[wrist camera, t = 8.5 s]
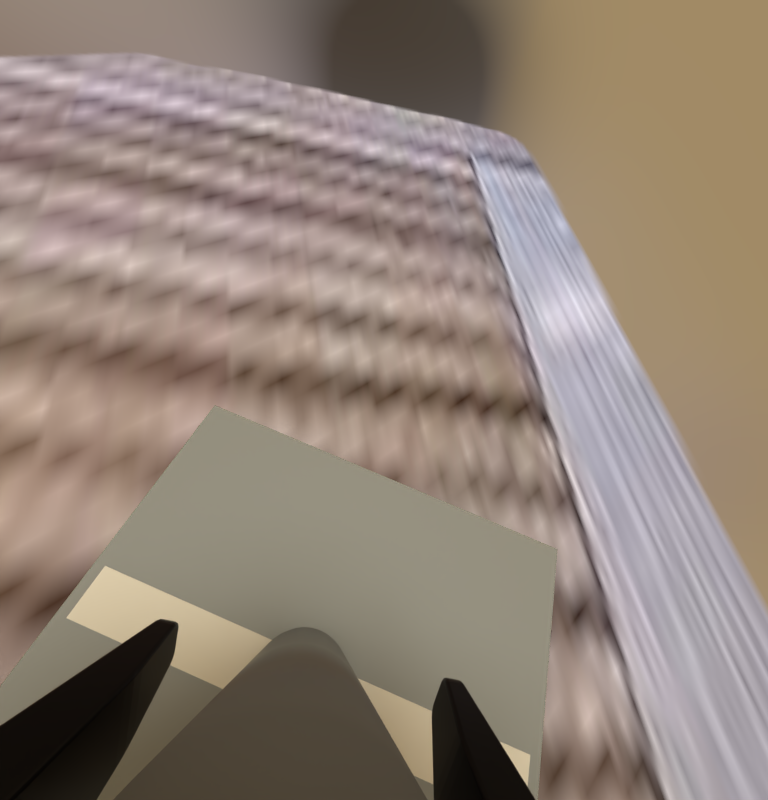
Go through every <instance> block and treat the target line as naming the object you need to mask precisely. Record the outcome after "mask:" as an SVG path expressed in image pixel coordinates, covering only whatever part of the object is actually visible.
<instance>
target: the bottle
mask: <svg viewBox="0 0 768 800" xmlns="http://www.w3.org/2000/svg"><path fill="white" fill-rule="evenodd" d="M113 800H427V798H426V796H425V794H424V793H423V791H422V789H421V788H420V786H419V784H418V782H417V781H416V779H415V777H414V775H413V774H412V772H411V770H410V768H409V767H408V765H407V763H406V761H405V760H404V758H403V756H402V754H401V753H400V751H399V749H398V747H397V746H396V744H395V742H394V741H393V739H392V737H391V735H390V734H389V732H388V730H387V728H386V727H385V725H384V723H383V721H382V720H381V718H380V716H379V714H378V713H377V711H376V709H375V707H374V706H373V704H372V702H371V700H370V699H369V697H368V695H367V694H366V692H365V690H364V688H363V687H362V685H361V683H360V681H359V680H358V678H357V676H356V674H355V673H354V671H353V669H352V667H351V666H350V664H349V662H348V660H347V659H346V657H345V655H344V654H343V652H342V650H341V648H340V647H339V645H338V644H337V643H336V642H335V640H333V639H332V638H331V637H330V636H329V635H327V634H326V633H324V632H322V631H320V630H318V629H314V628H308V627H300V628H294V629H291V630H288V631H286V632H284V633H282V634H280V635H278V636H277V637H275V638H274V639H273V640H272V641H270V642H269V643H268V644H267V645H266V646H265V647H264V648H263V649H262V650H261V651H260V652H259V653H258V654H257V655H256V656H255V657H254V658H253V659H252V660H251V661H250V662H249V663H248V664H247V665H246V666H245V667H244V668H243V669H242V670H241V671H240V672H239V673H238V674H237V675H236V676H235V677H234V678H233V679H232V680H231V681H230V682H229V683H228V684H227V685H226V686H225V687H224V688H223V689H222V690H221V691H220V692H219V693H218V694H217V695H216V696H215V697H214V698H213V699H212V700H211V701H210V702H209V703H208V704H207V705H206V706H205V707H204V708H203V709H202V710H201V711H200V712H199V713H198V714H197V715H196V716H195V717H194V718H193V719H192V720H191V721H190V722H189V723H188V724H187V725H186V726H185V727H184V728H183V729H182V730H181V731H180V732H179V733H178V734H177V735H176V736H175V737H174V738H173V739H172V740H171V741H170V742H169V743H168V744H167V745H166V746H165V747H164V748H163V749H162V750H161V751H160V752H159V753H158V754H157V755H156V756H155V757H154V758H153V759H152V760H151V761H150V762H149V763H148V764H147V765H146V766H145V767H144V768H143V769H142V770H141V771H140V772H139V773H138V774H137V775H136V776H135V777H134V778H133V779H132V780H131V782H130V783H129V784H128V785H127V786H126V787H125V788H124V789H123V790H122V791H121V792H120V793H119V794H118V795H117V796H116V797H115V798H114V799H113Z"/></svg>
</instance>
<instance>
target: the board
mask: <svg viewBox="0 0 768 800" xmlns="http://www.w3.org/2000/svg"><path fill="white" fill-rule="evenodd" d="M556 561H557V549H555V548H553V547H551V546H548V545H546V544H544V543H541V542H539V541H536V540H534V539H532V538H529V537H527V536H525V535H522V534H520V533H517V532H515V531H513V530H510V529H508V528H505V527H503V526H501V525H498V524H496V523H494V522H491V521H489V520H486V519H484V518H482V517H479V516H477V515H475V514H472V513H470V512H467V511H465V510H463V509H460V508H458V507H456V506H453V505H451V504H448V503H446V502H444V501H441V500H439V499H436V498H434V497H432V496H429V495H427V494H425V493H422V492H420V491H417V490H415V489H413V488H410V487H408V486H406V485H403V484H401V483H398V482H396V481H394V480H391V479H389V478H387V477H384V476H382V475H379V474H377V473H375V472H372V471H370V470H367V469H365V468H363V467H360V466H358V465H356V464H353V463H351V462H348V461H346V460H344V459H341V458H339V457H337V456H334V455H332V454H329V453H327V452H325V451H322V450H320V449H318V448H315V447H313V446H310V445H308V444H306V443H303V442H301V441H298V440H296V439H294V438H291V437H289V436H287V435H284V434H282V433H279V432H277V431H275V430H272V429H270V428H268V427H265V426H263V425H260V424H258V423H256V422H253V421H251V420H249V419H246V418H244V417H241V416H239V415H237V414H234V413H232V412H229V411H227V410H225V409H222V408H220V407H218V406H214V407H213V408H212V410H211V411H210V412H209V414H208V415H207V416H206V418H205V419H204V420H203V422H202V423H201V424H200V425H199V427H198V428H197V429H196V431H195V432H194V433H193V435H192V436H191V437H190V439H189V440H188V441H187V442H186V444H185V445H184V446H183V448H182V449H181V450H180V452H179V453H178V454H177V456H176V457H175V458H174V459H173V461H172V462H171V463H170V465H169V466H168V467H167V469H166V470H165V471H164V473H163V474H162V475H161V476H160V478H159V479H158V480H157V482H156V483H155V484H154V486H153V487H152V488H151V490H150V491H149V492H148V493H147V495H146V496H145V497H144V499H143V500H142V501H141V503H140V504H139V505H138V507H137V508H136V509H135V511H134V512H133V513H132V514H131V516H130V517H129V518H128V520H127V521H126V522H125V524H124V525H123V526H122V528H121V529H120V530H119V531H118V533H117V534H116V535H115V537H114V538H113V539H112V541H111V542H110V543H109V545H108V546H107V547H106V548H105V550H104V551H103V552H102V554H101V555H100V556H99V558H98V559H97V560H96V562H95V563H94V564H93V565H92V567H91V568H90V569H89V571H88V572H87V573H86V575H85V576H84V577H83V579H82V580H81V581H80V582H79V584H78V585H77V586H76V588H75V589H74V590H73V592H72V593H71V594H70V596H69V597H68V598H67V600H66V601H65V602H64V603H63V605H62V606H61V607H60V609H59V610H58V611H57V613H56V614H55V615H54V617H53V618H52V619H51V620H50V622H49V623H48V624H47V626H46V627H45V628H44V630H43V631H42V632H41V634H40V635H39V636H38V637H37V639H36V640H35V641H34V643H33V644H32V645H31V647H30V648H29V649H28V651H27V652H26V653H25V654H24V656H23V657H22V658H21V660H20V661H19V662H18V664H17V665H16V666H15V668H14V669H13V670H12V671H11V673H10V674H9V675H8V677H7V678H6V679H5V681H4V682H3V683H2V685H1V686H0V725H2V724H3V723H5V722H6V721H8V720H9V719H11V718H12V717H13V716H15V715H16V714H18V713H19V712H21V711H22V710H24V709H25V708H27V707H28V706H30V705H31V704H33V703H34V702H36V701H37V700H39V699H40V698H42V697H43V696H45V695H46V694H48V693H49V692H51V691H52V690H54V689H55V688H57V687H58V686H60V685H61V684H63V683H64V682H65V681H67V680H68V679H70V678H71V677H73V676H74V675H76V674H77V673H79V672H80V671H82V670H83V669H85V668H86V667H88V666H89V665H91V664H92V663H94V662H95V661H97V660H98V659H100V658H101V657H103V656H104V655H106V654H107V653H109V652H110V651H112V650H113V649H115V648H116V647H117V646H119V645H120V644H122V643H123V642H125V641H126V640H128V639H129V638H131V637H132V636H134V635H135V634H137V633H138V632H140V631H141V630H143V629H144V628H146V627H147V626H149V625H150V624H152V623H153V622H155V621H156V620H159V619H165V620H170V621H175V622H177V623H178V626H179V627H178V634H177V641H176V647H175V653H174V657H173V659H172V662H171V664H170V666H169V668H168V670H167V672H166V674H165V676H164V678H163V680H162V682H161V684H160V686H159V688H158V690H157V692H156V694H155V696H154V698H153V700H152V702H151V704H150V705H149V707H148V709H147V711H146V713H145V715H144V717H143V719H142V721H141V723H140V725H139V727H138V729H137V731H136V733H135V735H134V737H133V739H132V741H131V743H130V744H129V746H128V748H127V750H126V752H125V754H124V756H123V757H122V759H121V761H120V762H119V764H118V766H117V768H116V769H115V771H114V773H113V774H112V776H111V777H110V779H109V781H108V782H107V784H106V786H105V787H104V789H103V790H102V792H101V794H100V795H99V797H98V799H97V800H113V799H114V798H115V797H116V796H117V795H118V794H119V793H120V792H121V791H122V790H123V789H124V788H125V787H126V786H127V785H128V784H129V783H130V782H131V780H132V779H133V778H134V777H135V776H136V775H137V774H138V773H139V772H140V771H141V770H142V769H143V768H144V767H145V766H146V765H147V764H148V763H149V762H150V761H151V760H152V759H153V758H154V757H155V756H156V755H157V754H158V753H159V752H160V751H161V750H162V749H163V748H164V747H165V746H166V745H167V744H168V743H169V742H170V741H171V740H172V739H173V738H174V737H175V736H176V735H177V734H178V733H179V732H180V731H181V730H182V729H183V728H184V727H185V726H186V725H187V724H188V723H189V722H190V721H191V720H192V719H193V718H194V717H195V716H196V715H197V714H198V713H199V712H200V711H201V710H202V709H203V708H204V707H205V706H206V705H207V704H208V703H209V702H210V701H211V700H212V699H213V698H214V697H215V696H216V695H217V694H218V693H219V692H220V691H221V690H222V689H223V688H224V687H225V686H226V685H227V684H228V683H229V682H230V681H231V680H232V679H233V678H234V677H235V676H236V675H237V674H238V673H239V672H240V671H241V670H242V669H243V668H244V667H245V666H246V665H247V664H248V663H249V662H250V661H251V660H252V659H253V658H254V657H255V656H256V655H257V654H258V653H259V652H260V651H261V650H262V649H263V648H264V647H265V646H266V645H267V644H268V643H269V642H270V641H272V640H273V639H274V638H275V637H277V636H278V635H280V634H282V633H284V632H286V631H288V630H291V629H294V628H300V627H308V628H314V629H318V630H320V631H322V632H324V633H326V634H327V635H329V636H330V637H331V638H332V639H333V640H335V642H336V643H337V644H338V645H339V647H340V648H341V650H342V652H343V654H344V655H345V657H346V659H347V660H348V662H349V664H350V666H351V667H352V669H353V671H354V673H355V674H356V676H357V678H358V680H359V681H360V683H361V685H362V687H363V688H364V690H365V692H366V694H367V695H368V697H369V699H370V700H371V702H372V704H373V706H374V707H375V709H376V711H377V713H378V714H379V716H380V718H381V720H382V721H383V723H384V725H385V727H386V728H387V730H388V732H389V734H390V735H391V737H392V739H393V741H394V742H395V744H396V746H397V747H398V749H399V751H400V753H401V754H402V756H403V758H404V760H405V761H406V763H407V765H408V767H409V768H410V770H411V772H412V774H413V775H414V777H415V779H416V781H417V782H418V784H419V786H420V788H421V789H422V791H423V793H424V794H425V796H426V798H427V800H434V791H433V751H432V708H433V704H434V701H435V698H436V695H437V692H438V690H439V687H440V684H441V681H442V680H443V678H446V677H447V678H452V679H457V680H460V681H461V682H462V683H463V684H464V685H465V687H466V688H467V690H468V691H469V693H470V695H471V696H472V698H473V700H474V701H475V703H476V704H477V706H478V708H479V709H480V711H481V712H482V714H483V716H484V717H485V719H486V720H487V722H488V724H489V725H490V727H491V728H492V730H493V732H494V733H495V735H496V737H497V738H498V740H499V741H500V743H501V745H502V746H503V748H504V749H505V751H506V753H507V754H508V756H509V757H510V759H511V761H512V762H513V764H514V766H515V767H516V769H517V770H518V772H519V774H520V775H521V777H522V778H523V780H524V782H525V783H526V785H527V786H528V788H529V790H530V791H531V793H532V794H533V796H534V798H535V799H536V800H538V789H539V776H540V764H541V751H542V738H543V726H544V713H545V700H546V688H547V675H548V662H549V649H550V637H551V624H552V611H553V599H554V586H555V573H556Z"/></svg>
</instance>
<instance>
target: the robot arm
mask: <svg viewBox="0 0 768 800" xmlns="http://www.w3.org/2000/svg"><path fill="white" fill-rule="evenodd" d="M178 627H179V626H178V623H177V622H175V621H170V620H165V619H159V620H156V621H155V622H153V623H152V624H150V625H149V626H147V627H146V628H144V629H143V630H141V631H140V632H138V633H137V634H135V635H134V636H132V637H131V638H129V639H128V640H126V641H125V642H123V643H122V644H120V645H119V646H117V647H116V648H115V649H113V650H112V651H110V652H109V653H107V654H106V655H104V656H103V657H101V658H100V659H98V660H97V661H95V662H94V663H92V664H91V665H89V666H88V667H86V668H85V669H83V670H82V671H80V672H79V673H77V674H76V675H74V676H73V677H71V678H70V679H68V680H67V681H65V682H64V683H63V684H61V685H60V686H58V687H57V688H55V689H54V690H52V691H51V692H49V693H48V694H46V695H45V696H43V697H42V698H40V699H39V700H37V701H36V702H34V703H33V704H31V705H30V706H28V707H27V708H25V709H24V710H22V711H21V712H19V713H18V714H16V715H15V716H13V717H12V718H11V719H9V720H8V721H6V722H5V723H3V724H2V725H0V800H97V799H98V797H99V795H100V794H101V792H102V790H103V789H104V787H105V786H106V784H107V782H108V781H109V779H110V777H111V776H112V774H113V773H114V771H115V769H116V768H117V766H118V764H119V762H120V761H121V759H122V757H123V756H124V754H125V752H126V750H127V748H128V746H129V744H130V743H131V741H132V739H133V737H134V735H135V733H136V731H137V729H138V727H139V725H140V723H141V721H142V719H143V717H144V715H145V713H146V711H147V709H148V707H149V705H150V704H151V702H152V700H153V698H154V696H155V694H156V692H157V690H158V688H159V686H160V684H161V682H162V680H163V678H164V676H165V674H166V672H167V670H168V668H169V666H170V664H171V662H172V659H173V657H174V653H175V647H176V641H177V634H178ZM432 751H433V791H434V800H536V799H535V798H534V796H533V794H532V793H531V791H530V790H529V788H528V786H527V785H526V783H525V782H524V780H523V778H522V777H521V775H520V774H519V772H518V770H517V769H516V767H515V766H514V764H513V762H512V761H511V759H510V757H509V756H508V754H507V753H506V751H505V749H504V748H503V746H502V745H501V743H500V741H499V740H498V738H497V737H496V735H495V733H494V732H493V730H492V728H491V727H490V725H489V724H488V722H487V720H486V719H485V717H484V716H483V714H482V712H481V711H480V709H479V708H478V706H477V704H476V703H475V701H474V700H473V698H472V696H471V695H470V693H469V691H468V690H467V688H466V687H465V685H464V684H463V683H462V682H461V681H460V680H457V679H452V678H447V677H446V678H443V680H442V681H441V684H440V687H439V690H438V692H437V695H436V698H435V701H434V704H433V708H432Z"/></svg>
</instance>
